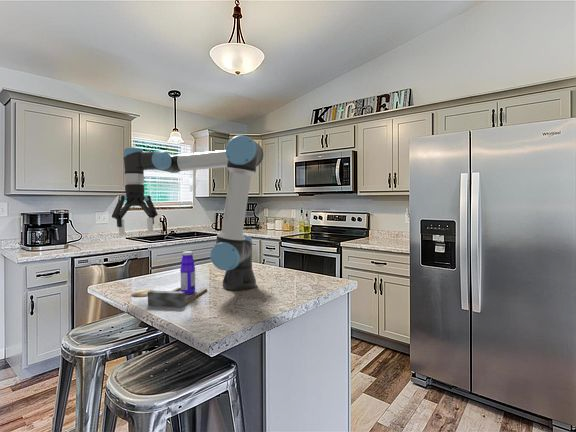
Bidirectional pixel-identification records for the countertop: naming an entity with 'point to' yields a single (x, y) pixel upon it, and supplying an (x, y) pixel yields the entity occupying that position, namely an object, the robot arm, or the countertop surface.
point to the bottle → (187, 273)
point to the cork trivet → (140, 293)
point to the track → (171, 298)
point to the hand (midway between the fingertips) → (136, 233)
